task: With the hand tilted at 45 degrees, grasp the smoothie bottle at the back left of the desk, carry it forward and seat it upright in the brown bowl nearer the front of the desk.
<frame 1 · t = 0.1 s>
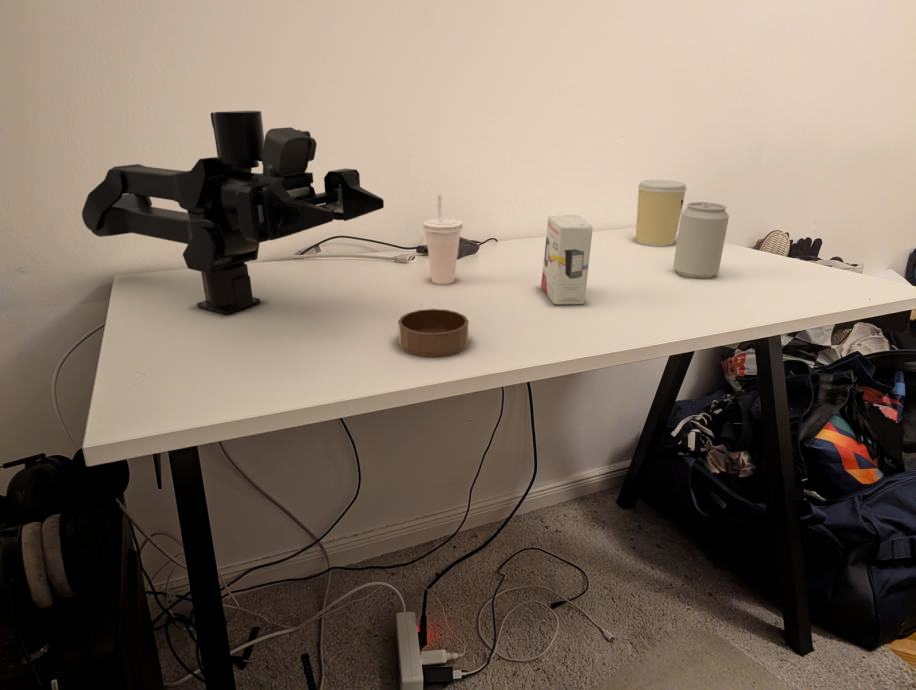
hand: (358, 209, 70), 17 cm above the table, tool horizontal, fingers open, 9 cm apart
yellow lidded canister: (654, 242, 127), on the table
brown bowl: (433, 343, 76), on the table
smoothie: (443, 281, 101), on the table
can: (694, 274, 106), on the table
ink box: (562, 297, 94), on the table
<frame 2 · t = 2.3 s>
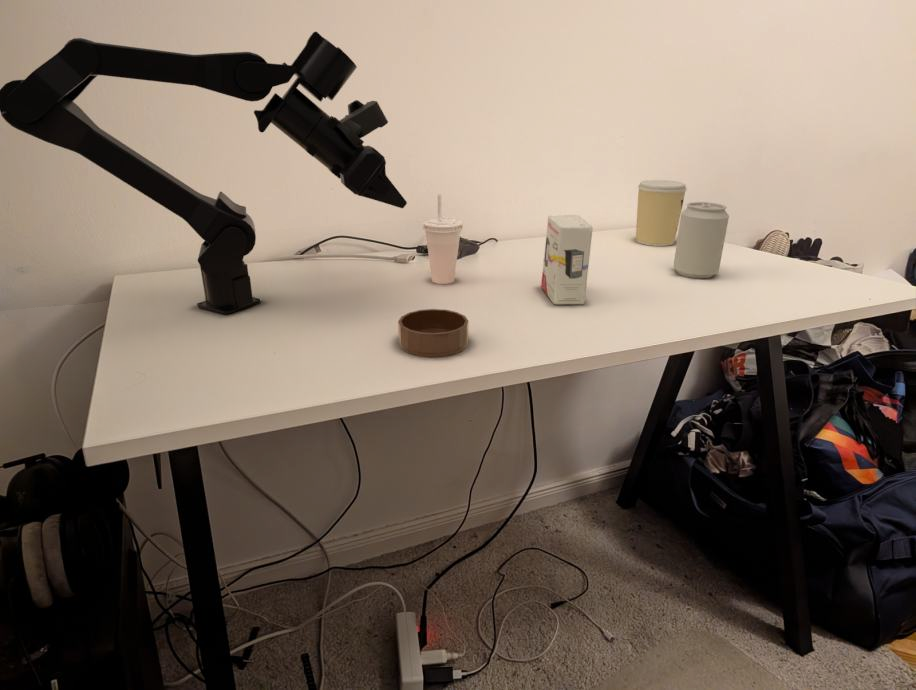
hand: (397, 200, 90), 14 cm above the table, tool tilted 50°, fingers open, 9 cm apart
nothing on the table moved.
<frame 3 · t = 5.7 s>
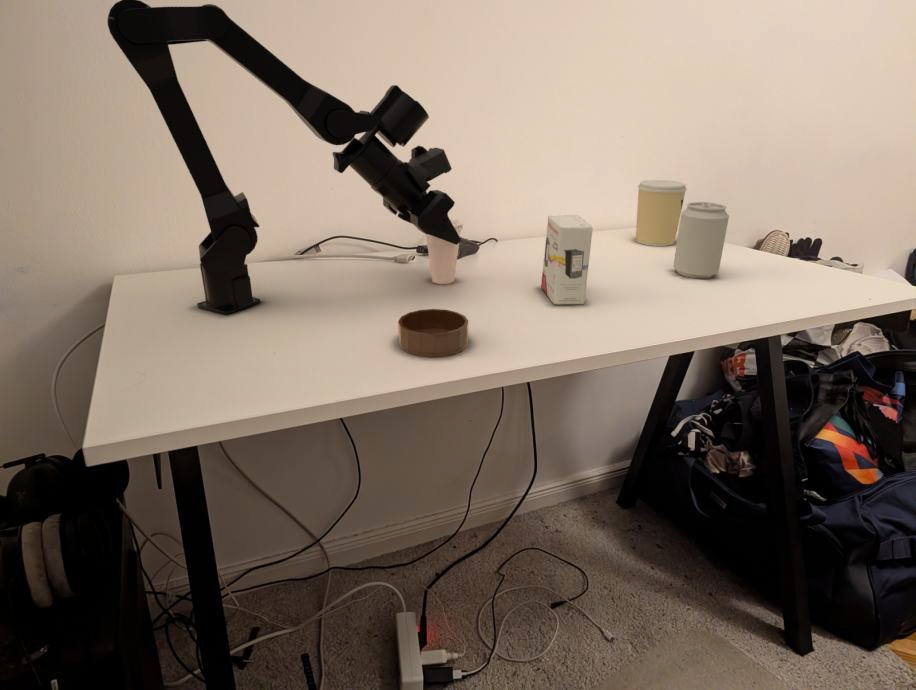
hand: (451, 237, 98), 7 cm above the table, tool tilted 45°, fingers closed on smoothie, 6 cm apart
smoothie: (443, 281, 101), on the table, touching gripper
everything else where it was.
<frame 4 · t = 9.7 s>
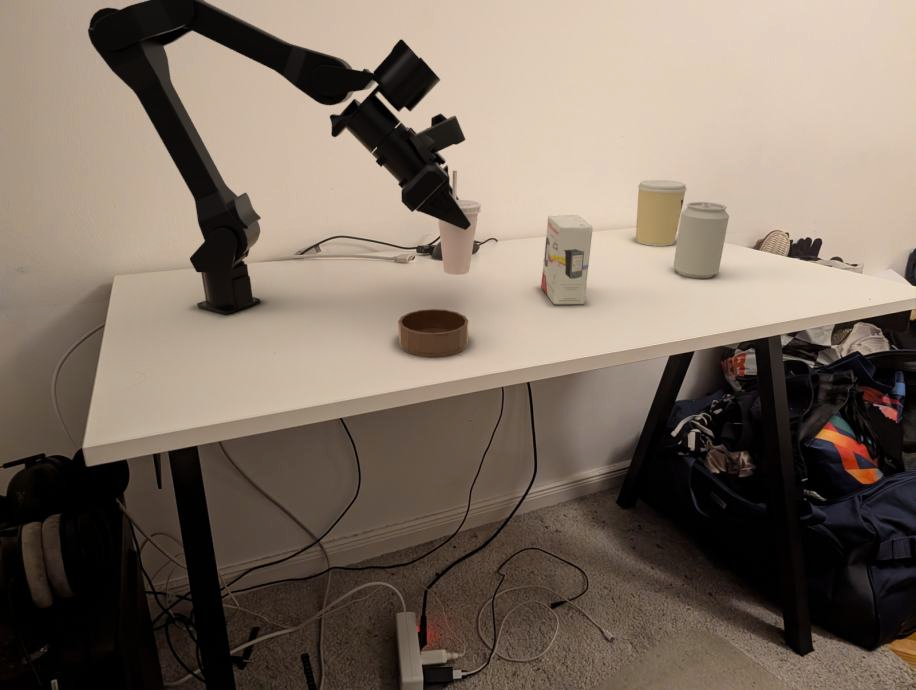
hand: (467, 222, 85), 12 cm above the table, tool tilted 45°, fingers closed on smoothie, 6 cm apart
smoothie: (456, 272, 88), point 5 cm above the table, touching gripper
everything else where it was.
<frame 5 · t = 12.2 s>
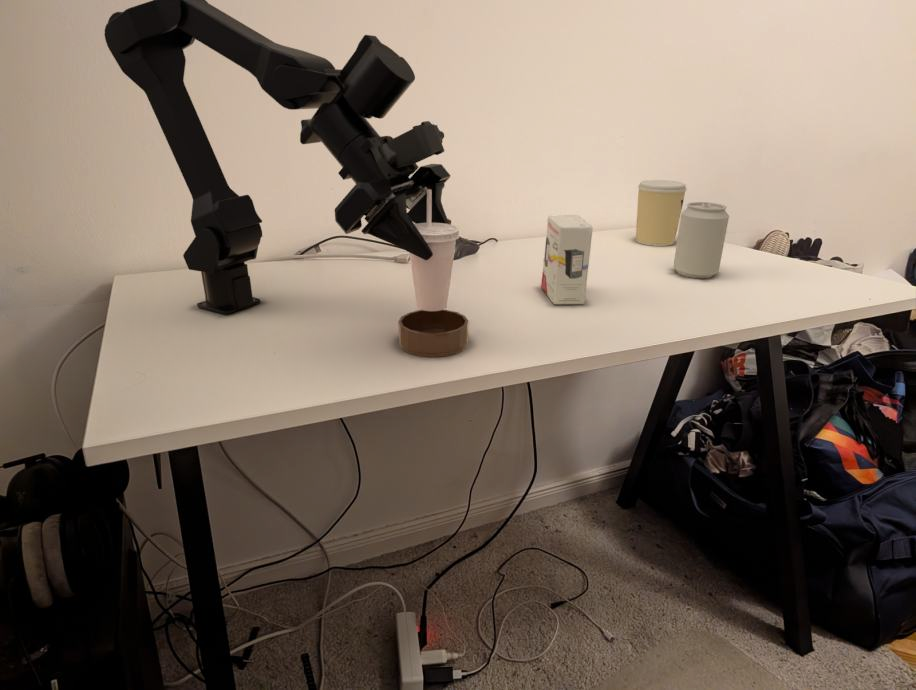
hand: (442, 251, 71), 12 cm above the table, tool tilted 45°, fingers closed on smoothie, 6 cm apart
smoothie: (431, 307, 75), point 5 cm above the table, touching gripper
everything else where it was.
when the fingers open (8 cm above the table, at t = 14.0 s): smoothie stays where it is, resting on brown bowl.
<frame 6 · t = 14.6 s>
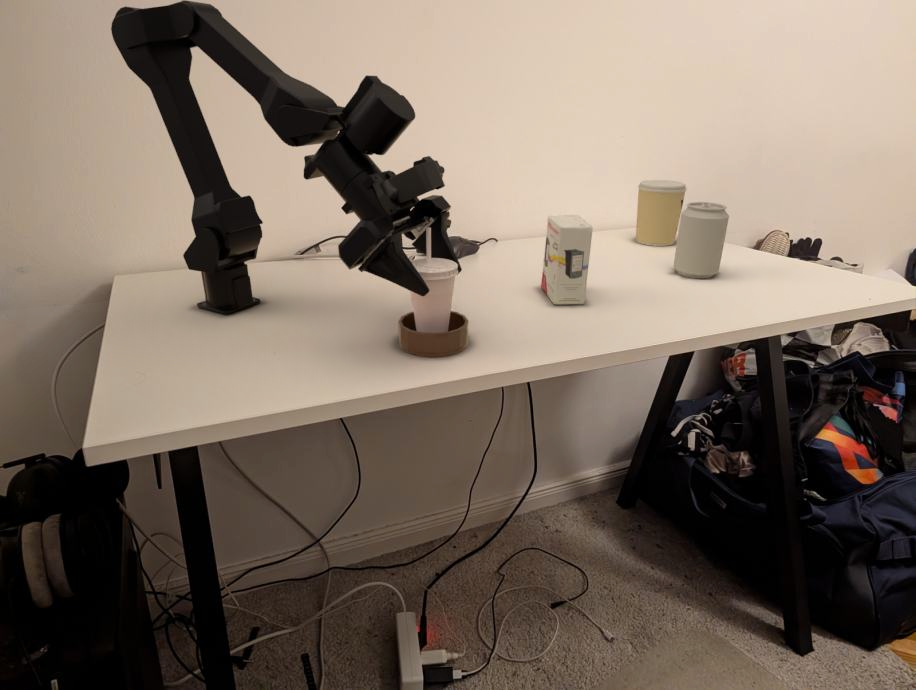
hand: (443, 282, 73), 8 cm above the table, tool tilted 45°, fingers open, 9 cm apart
smoothie: (432, 340, 76), resting on brown bowl
everything else where it was.
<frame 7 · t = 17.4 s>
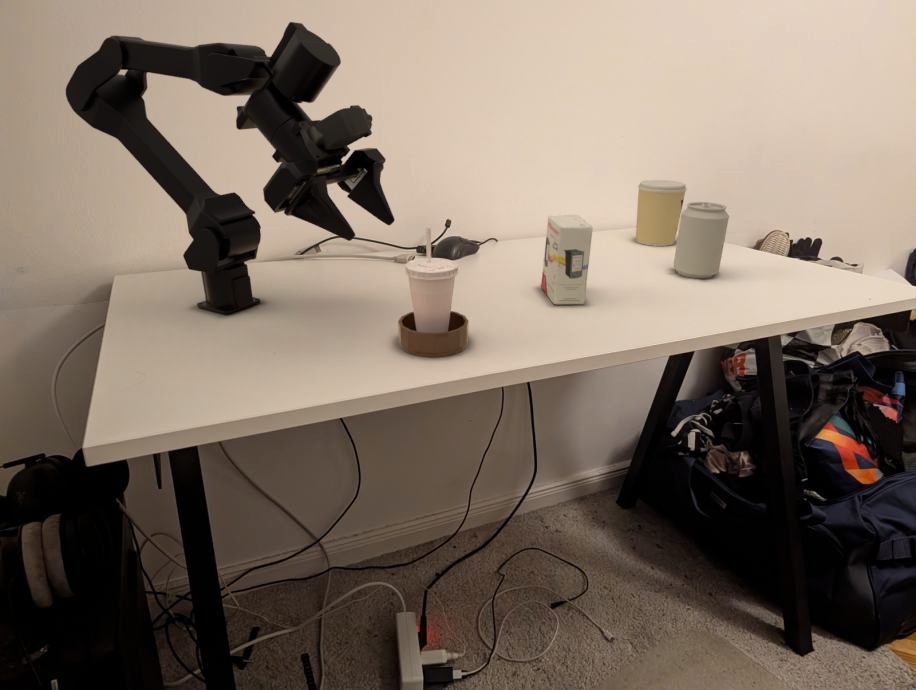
hand: (373, 230, 74), 14 cm above the table, tool tilted 45°, fingers open, 9 cm apart
nothing on the table moved.
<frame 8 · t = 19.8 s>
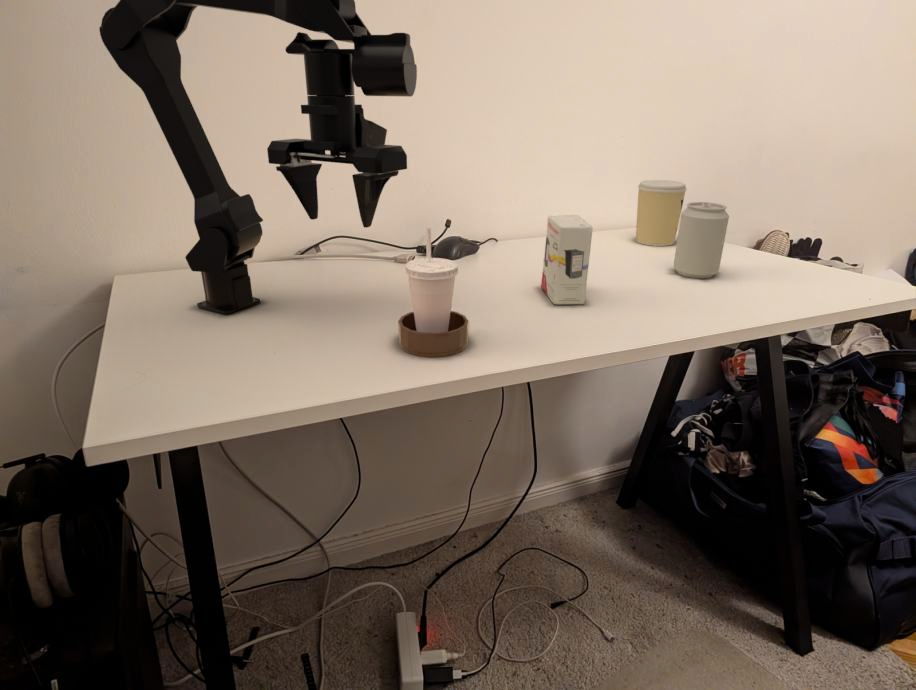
hand: (340, 222, 80), 13 cm above the table, tool pointing down, fingers open, 9 cm apart
nothing on the table moved.
at the end: smoothie 0.2 cm off-centre in the brown bowl, point 0.3 cm above the brown bowl's base; smoothie tilted 0°; the gripper is holding nothing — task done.
